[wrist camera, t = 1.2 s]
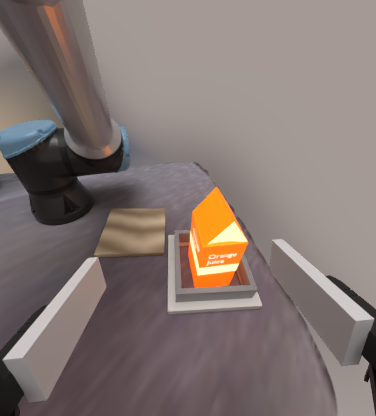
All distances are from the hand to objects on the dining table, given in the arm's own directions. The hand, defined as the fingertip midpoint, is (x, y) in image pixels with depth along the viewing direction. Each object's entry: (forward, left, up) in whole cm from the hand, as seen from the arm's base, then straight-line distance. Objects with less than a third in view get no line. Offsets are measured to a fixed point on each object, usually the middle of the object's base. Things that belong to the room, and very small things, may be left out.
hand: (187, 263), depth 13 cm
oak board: (-26, -11, -25) cm, 37 cm away
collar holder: (-14, +7, -25) cm, 29 cm away
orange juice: (-14, +7, -25) cm, 29 cm away
